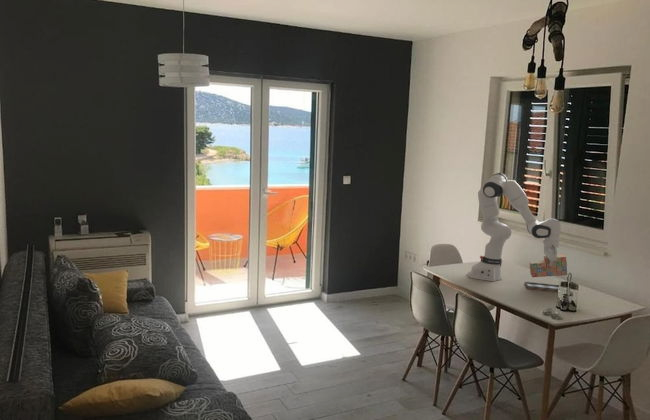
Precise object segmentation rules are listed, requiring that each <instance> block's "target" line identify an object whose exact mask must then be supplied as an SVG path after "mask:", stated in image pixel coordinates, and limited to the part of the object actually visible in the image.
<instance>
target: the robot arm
mask: <svg viewBox="0 0 650 420" xmlns="http://www.w3.org/2000/svg"><path fill="white" fill-rule="evenodd" d="M502 195H504V196H505V198H506V199H507V201H508V202H509V204H510V205H511V206H512V208H513V209H515V210H516V211H518V213H519V214H520V216H521V217H522V219H523V220H524V222H525V224H526V230H527V232H528V233H529V234H530V235H532V237H534V238H536V239H543V242H542V243H543V254H544V256H547V257H548V259H549V260H550V262H549V266H551V267H552V264H553V261H556V260H557V255H558V250H557V249H558V248H559V246H560V235H561V230H562V227H561V225H562V224H561V221H560V220H558V219H556V218H553V217H552V218H551V217H549V218H547V219H545V220H543V221H540V220H539V219H537V218H536V217H535V216H534V214H533V213H532V210H531V209H530V207H529V203H530V201H529V198H528V196H527V194H526V192H525V191H524V190H523V188H522V186H520V185H519V183H517V181H515V180H508V177H507V175H506V174H504V173H503V172H497V173H495V174H493V175H492V176H491V177H490V178H488V180H486V182H485V183H484V185H483V187H482V188H481V189H479V190H478V192H477V197H478V199H477V200H478V202H479V203H478V204H479V207H480V211H481V214H482V222H481V226H480V230H481V231H482V232H483V233H484V234H485V235H486V236H489V237H490V238H489V241H488V243H486V245H485V247H484V255H480V256H479V259H480V261H479V262H476V263H475V264H473V265H472V267H471V270H470V271H467V277H468V278H470V279H475V280H483V281H488V282H489V281H490V282H495V281H496V282H497V281H501V280H502V274H501V273H502V272H501V269H502V263H503V259H502V257H503V256H502V255H503V249H504V245H505V243H506V241H507V240H509V239H510V237H511V236H512V231H513V230H512V228H511V227H510V226H509V225H507V224H506V223H503V222H501V221H499V217H498V216H499V214H500V207H499V205H498V201H497V198H496V197H502Z"/></svg>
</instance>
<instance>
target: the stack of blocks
mask: <svg viewBox="0 0 650 420" xmlns="http://www.w3.org/2000/svg"><path fill="white" fill-rule="evenodd" d="M567 261H568V260H567V256H566V255H565V254H557V260H556V261H553V264H552V267H551V266H549V262H550V260H549V259H548V257H547V256H546V255H544V256H543V259H542V260H532V261H529V272H530V276H531V278H541V277H543V278H546V277H559V276H562V277H563V276H568V269H567V268H568V267H567V266H568V264H567Z"/></svg>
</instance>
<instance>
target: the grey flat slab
mask: <svg viewBox="0 0 650 420" xmlns="http://www.w3.org/2000/svg"><path fill="white" fill-rule="evenodd" d="M523 284H524V285H523V286H524V287H525V288H526V289H527V290H532V291H533V290H534V291H544V292H553V293H558V292H557V291H558V287H559V285H560V284H550V283H542V282H533V281H531V282H530V281H524V283H523Z"/></svg>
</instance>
